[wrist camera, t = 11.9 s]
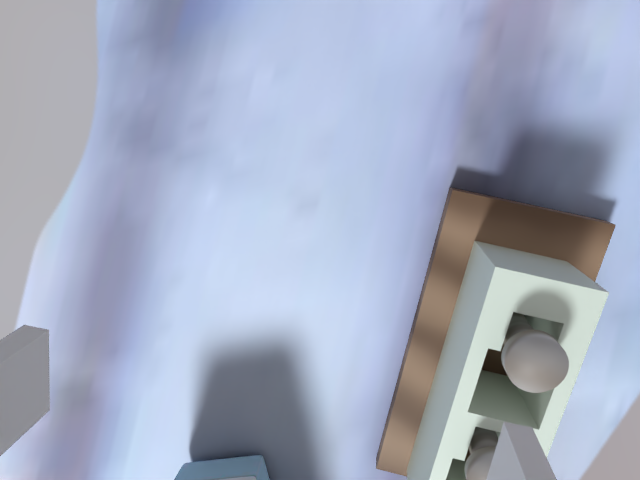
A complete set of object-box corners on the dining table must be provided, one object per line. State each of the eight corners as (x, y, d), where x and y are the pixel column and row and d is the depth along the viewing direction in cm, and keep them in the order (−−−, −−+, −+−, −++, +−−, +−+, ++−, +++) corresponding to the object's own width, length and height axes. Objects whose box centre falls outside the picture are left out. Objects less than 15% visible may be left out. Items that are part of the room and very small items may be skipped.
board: (449, 187, 38) (476, 211, 28) (606, 221, 37) (693, 258, 27) (376, 457, 44) (375, 559, 34) (509, 491, 44) (549, 605, 33)
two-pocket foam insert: (474, 240, 37) (495, 266, 31) (567, 261, 37) (609, 292, 30) (406, 470, 43) (411, 535, 36) (486, 490, 42) (507, 561, 35)
